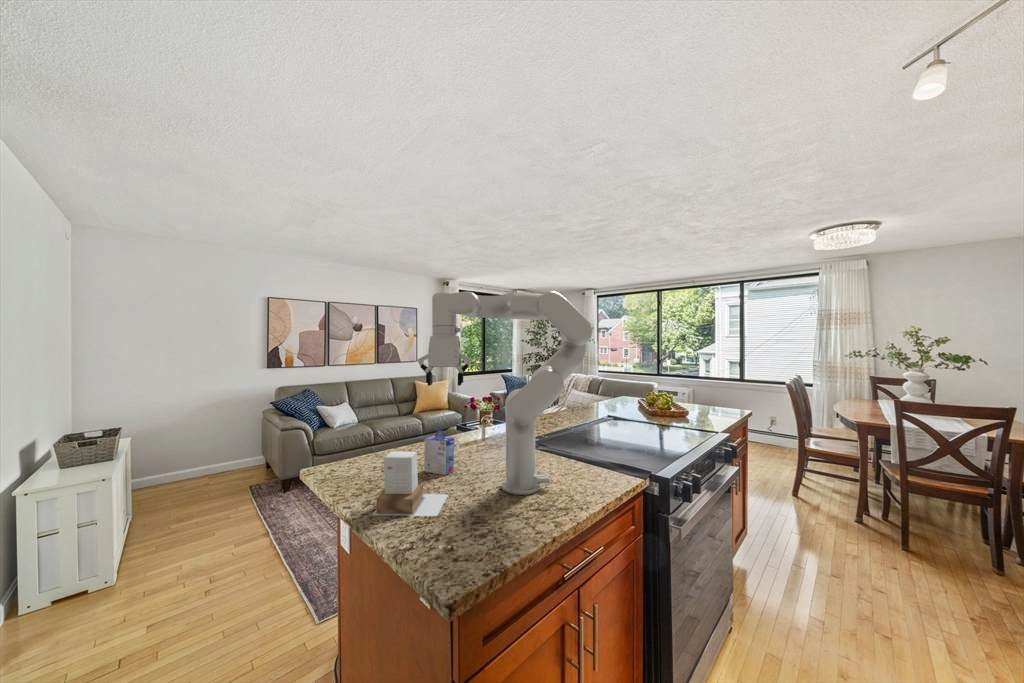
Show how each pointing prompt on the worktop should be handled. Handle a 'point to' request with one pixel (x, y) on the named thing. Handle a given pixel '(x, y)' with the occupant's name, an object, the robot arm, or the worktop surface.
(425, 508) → the white rectangular board
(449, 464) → the ink cartridge box
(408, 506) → the base slab
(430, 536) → the worktop surface
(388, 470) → the small box
